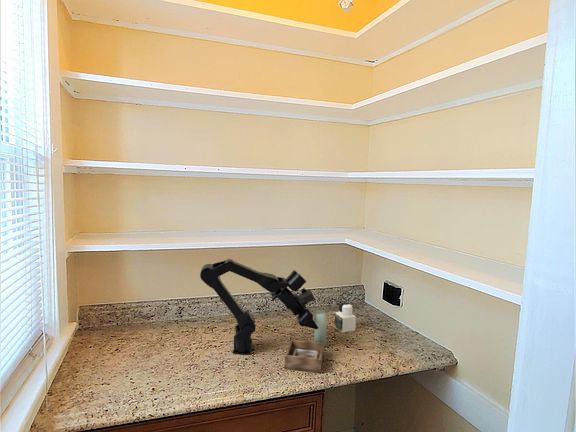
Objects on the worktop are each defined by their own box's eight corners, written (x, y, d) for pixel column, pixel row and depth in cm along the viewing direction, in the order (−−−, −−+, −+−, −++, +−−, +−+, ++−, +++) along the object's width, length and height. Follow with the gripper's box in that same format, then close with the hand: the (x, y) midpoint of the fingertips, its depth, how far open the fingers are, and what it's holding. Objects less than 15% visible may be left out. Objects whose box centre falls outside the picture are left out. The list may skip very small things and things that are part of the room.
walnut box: (284, 369, 126) (284, 355, 126) (290, 351, 139) (290, 339, 139) (320, 373, 124) (321, 359, 123) (323, 355, 137) (323, 343, 136)
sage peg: (313, 347, 143) (314, 314, 142) (314, 342, 148) (315, 310, 146) (325, 348, 142) (326, 315, 141) (326, 343, 147) (327, 311, 146)
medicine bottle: (334, 326, 164) (335, 302, 163) (347, 324, 166) (348, 300, 165) (341, 333, 157) (342, 307, 156) (355, 331, 160) (356, 305, 159)
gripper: (308, 292, 132) (335, 318, 135) (298, 278, 150) (322, 302, 153) (287, 313, 131) (315, 339, 134) (279, 297, 149) (304, 320, 153)
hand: (314, 323), depth 144 cm, fingers open, 9 cm apart
